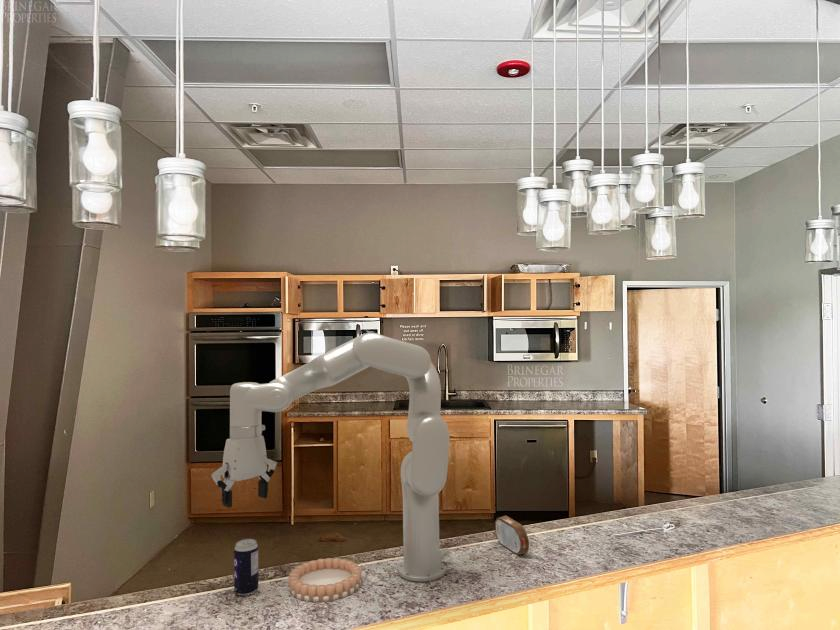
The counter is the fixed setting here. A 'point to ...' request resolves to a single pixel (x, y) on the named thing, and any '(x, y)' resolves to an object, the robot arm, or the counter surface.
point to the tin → (512, 535)
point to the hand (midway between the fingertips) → (245, 501)
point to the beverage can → (246, 567)
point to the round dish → (324, 580)
